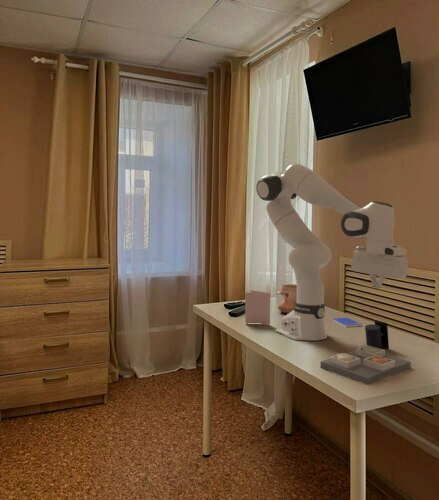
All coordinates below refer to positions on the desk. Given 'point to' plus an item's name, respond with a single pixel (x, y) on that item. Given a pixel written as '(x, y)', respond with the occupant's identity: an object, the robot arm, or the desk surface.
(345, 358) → the sand button
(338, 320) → the hard drive
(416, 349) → the desk surface
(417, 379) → the desk surface
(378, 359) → the terracotta button
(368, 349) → the sage button
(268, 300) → the greeting card
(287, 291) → the ceramic jug
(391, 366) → the button console
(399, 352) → the desk surface
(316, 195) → the robot arm
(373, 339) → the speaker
